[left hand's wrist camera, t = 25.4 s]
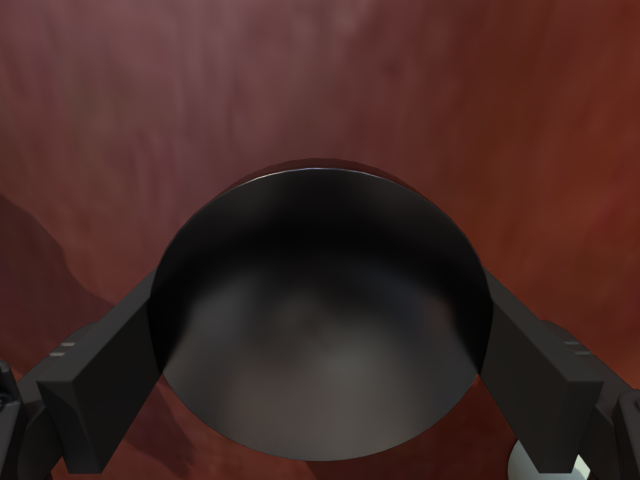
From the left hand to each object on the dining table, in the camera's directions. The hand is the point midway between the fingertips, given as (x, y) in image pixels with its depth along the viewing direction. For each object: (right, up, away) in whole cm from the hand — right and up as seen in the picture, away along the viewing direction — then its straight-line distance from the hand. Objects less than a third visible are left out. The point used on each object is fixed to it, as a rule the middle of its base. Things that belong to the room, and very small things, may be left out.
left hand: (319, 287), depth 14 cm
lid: (0, -1, -3) cm, 3 cm away
